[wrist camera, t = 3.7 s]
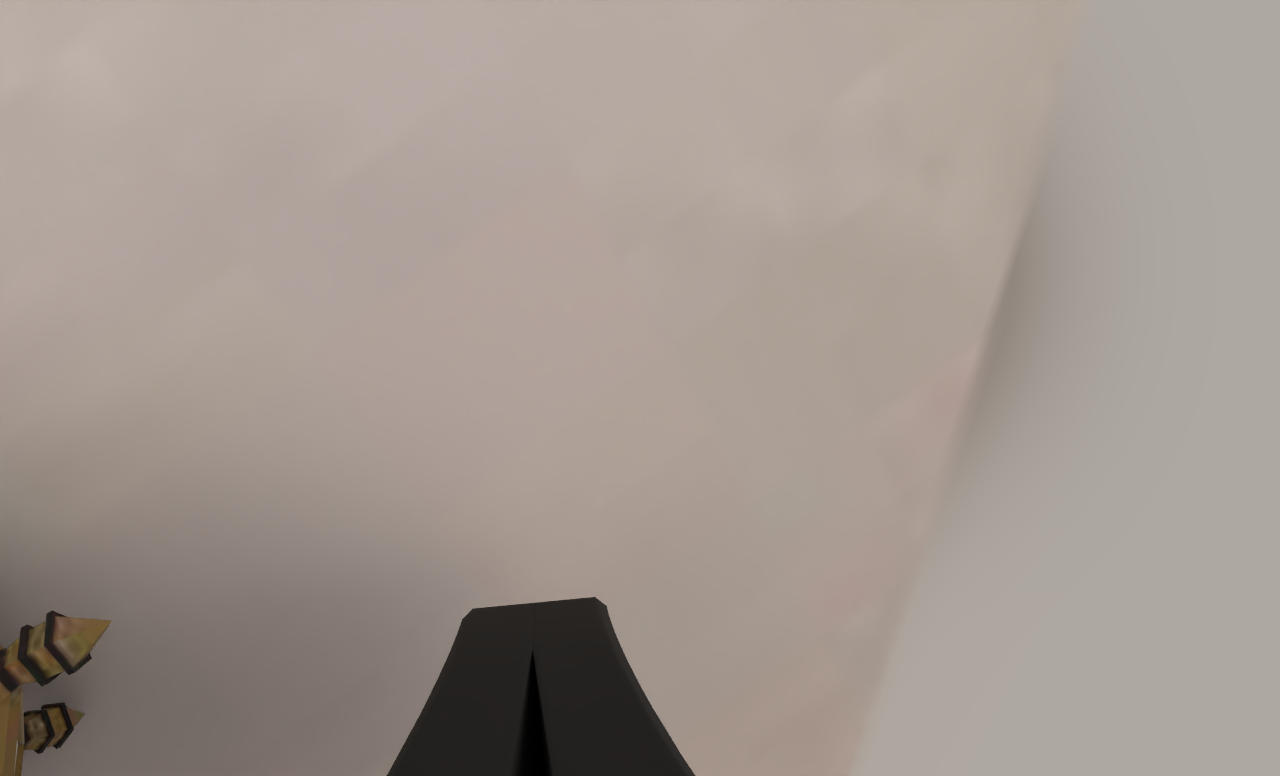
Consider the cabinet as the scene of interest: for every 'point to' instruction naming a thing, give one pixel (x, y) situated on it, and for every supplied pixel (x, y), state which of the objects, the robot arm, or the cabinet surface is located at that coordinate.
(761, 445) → the cabinet surface
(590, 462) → the cabinet surface
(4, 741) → the game die
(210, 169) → the cabinet surface
